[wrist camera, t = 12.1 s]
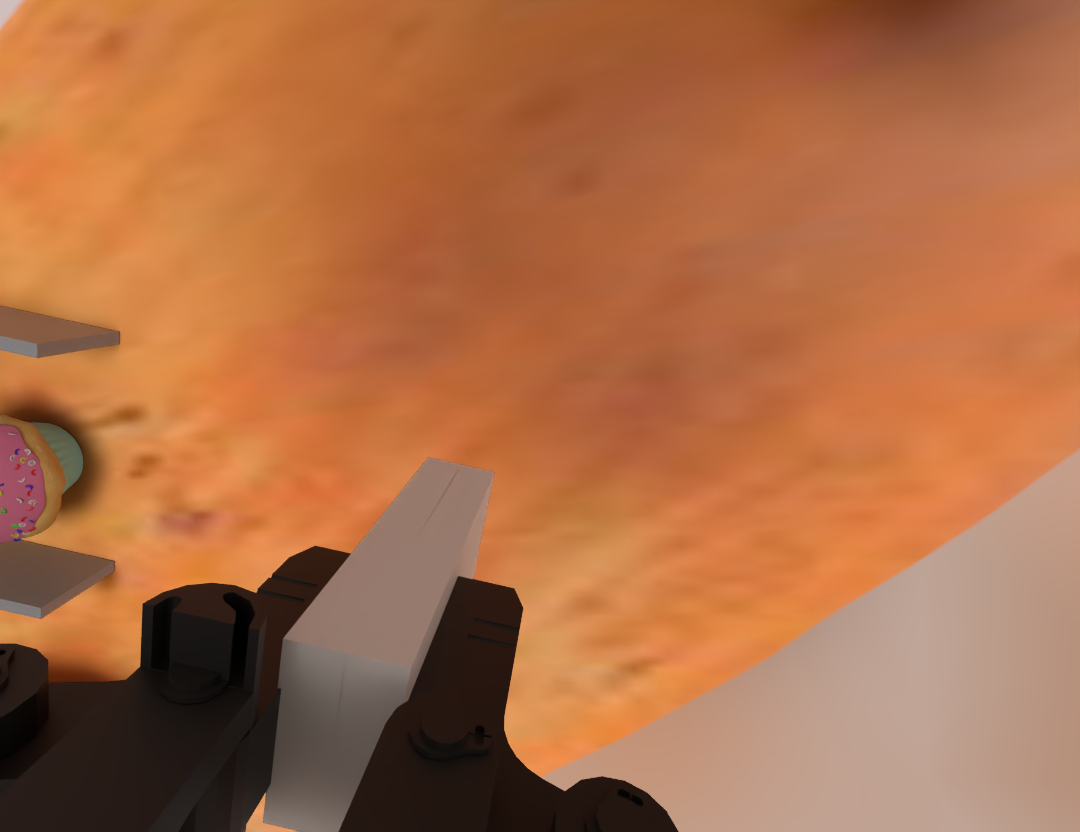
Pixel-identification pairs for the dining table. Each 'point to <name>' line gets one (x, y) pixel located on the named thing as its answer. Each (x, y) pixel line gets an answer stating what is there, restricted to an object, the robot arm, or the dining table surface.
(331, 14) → the dining table surface
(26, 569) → the box
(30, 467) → the cupcake
